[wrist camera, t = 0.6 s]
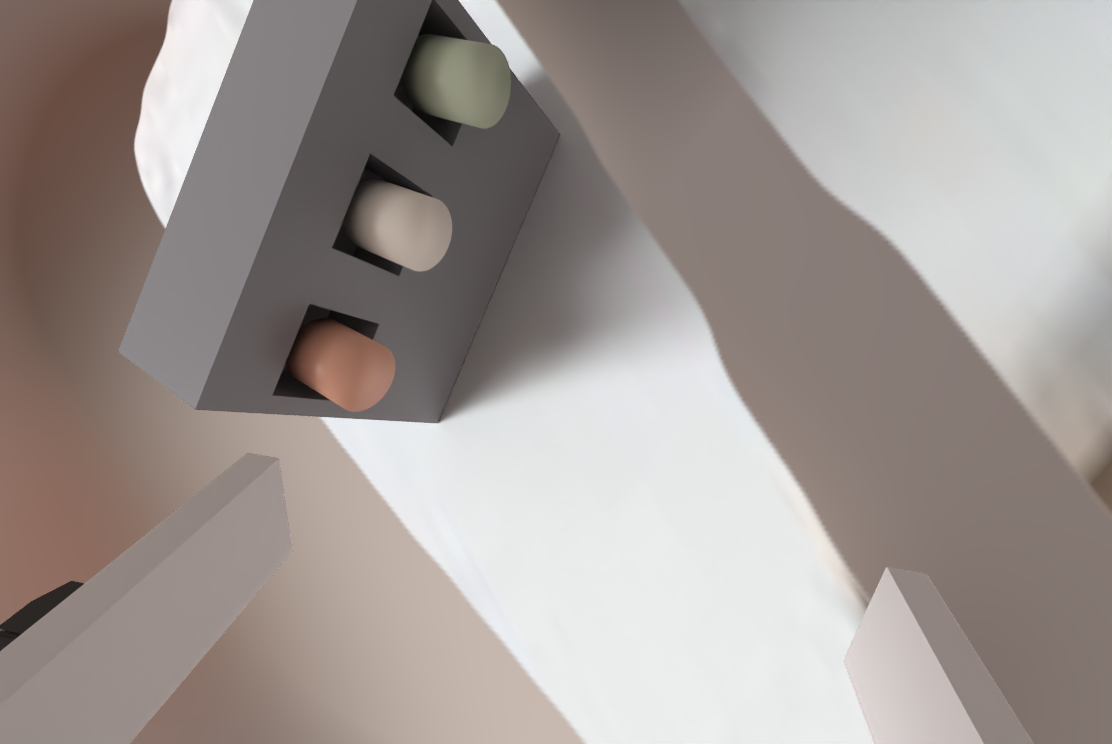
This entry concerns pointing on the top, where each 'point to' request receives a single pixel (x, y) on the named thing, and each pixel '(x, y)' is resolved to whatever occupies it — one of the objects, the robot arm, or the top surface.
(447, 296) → the console
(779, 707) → the top surface
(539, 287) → the top surface
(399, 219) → the cream button
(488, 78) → the sage button
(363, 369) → the terracotta button
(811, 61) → the top surface
